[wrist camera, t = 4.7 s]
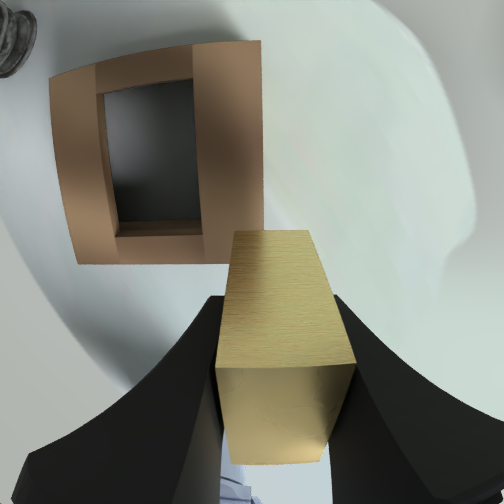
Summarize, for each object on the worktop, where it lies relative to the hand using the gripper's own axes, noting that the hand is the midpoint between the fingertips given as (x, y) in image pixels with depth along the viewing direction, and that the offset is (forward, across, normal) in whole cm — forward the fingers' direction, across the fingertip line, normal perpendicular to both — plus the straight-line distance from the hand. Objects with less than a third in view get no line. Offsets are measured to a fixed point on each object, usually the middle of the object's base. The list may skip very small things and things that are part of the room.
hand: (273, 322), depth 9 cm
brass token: (+2, 0, 0) cm, 2 cm away
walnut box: (+10, +5, -4) cm, 12 cm away
